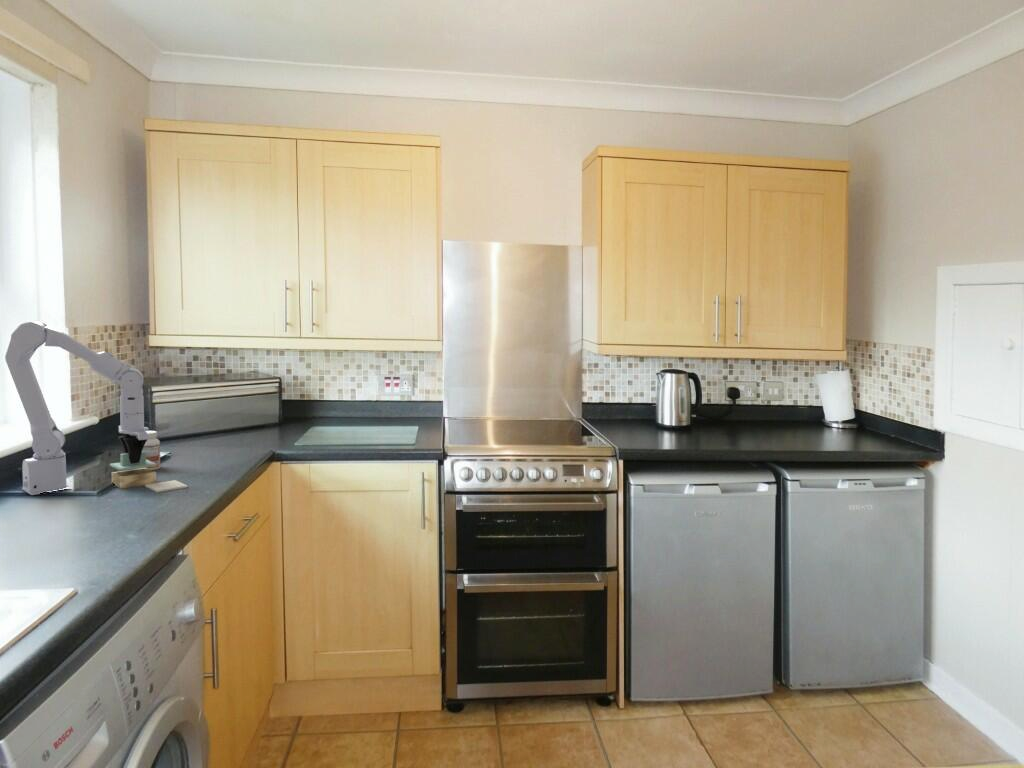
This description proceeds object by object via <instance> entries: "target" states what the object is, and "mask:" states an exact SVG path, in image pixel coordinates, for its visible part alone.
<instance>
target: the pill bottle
mask: <svg viewBox="0 0 1024 768" xmlns="http://www.w3.org/2000/svg"><path fill="white" fill-rule="evenodd" d="M145 432H147V441H146V443H145V445H144V447H143V450H142V451H144V452H146V459H147V460H149V461H151V462H154V463H156V464H157V466H152V467H144V468H148V469H150V470H152V471H155V470H158V469H160V468H161V441H160V440H159V439H158V438H157V436H158V432H157V431H156V430H147V431H145ZM137 469H140V468H137Z"/></svg>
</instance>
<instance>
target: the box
mask: <svg viewBox="0 0 1024 768" xmlns="http://www.w3.org/2000/svg"><path fill="white" fill-rule="evenodd" d="M112 482H113V483H114V484H115V485H114V486H115V487H117V488H119V489H121V490H123V489H130V488H135V487H143V486H145V485H147V484H154V483H157V471H155V470H150V469H148V468H140V469H138V468H137V469H130V470H122V471H120V470H118V471H112V472H111V483H112Z"/></svg>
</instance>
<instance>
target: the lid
mask: <svg viewBox="0 0 1024 768" xmlns="http://www.w3.org/2000/svg"><path fill="white" fill-rule="evenodd" d="M152 466H157V464H156V463H154V462H151V461H149V460H147V459H146V452H144V451H142V453H141V458H140V462H139V463H132V464H131V463H130V460H129V454H128V453H125V452H124V453H120V454H119V462H113V463H112V462H111V463H109V467H112V468H114V469H115V470H118V471H125V470H133V469H138V468H144V467H152Z"/></svg>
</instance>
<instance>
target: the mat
mask: <svg viewBox="0 0 1024 768" xmlns="http://www.w3.org/2000/svg"><path fill="white" fill-rule="evenodd" d="M144 486H145V488H147V489H149V490H150V491H151V490H152V491H154V492H156V493H162V492H168V491H174V490H179V489H187V488H189V486H188V485H187V484H185V483H182V482H180V481H178V480H175V479H173V480H167V481H162V482H156V483H154V484H147V485H144Z"/></svg>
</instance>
